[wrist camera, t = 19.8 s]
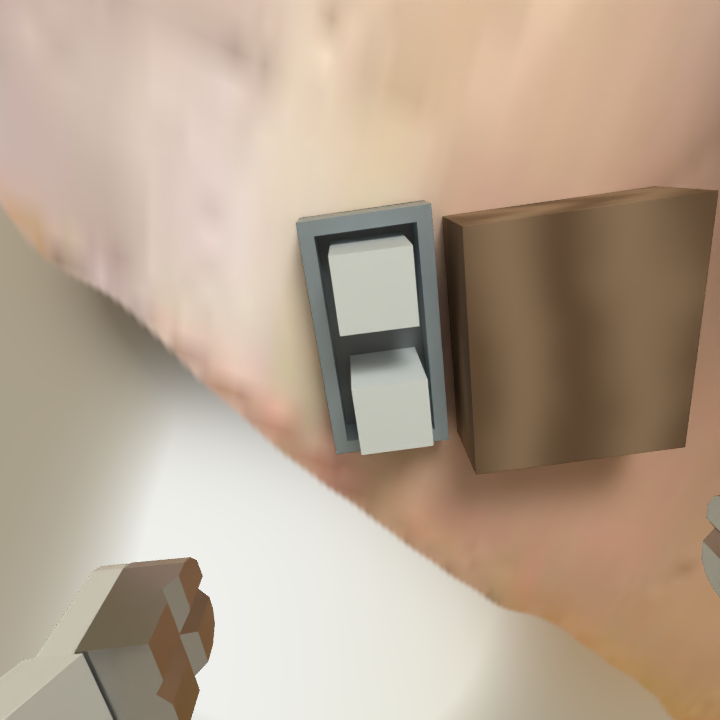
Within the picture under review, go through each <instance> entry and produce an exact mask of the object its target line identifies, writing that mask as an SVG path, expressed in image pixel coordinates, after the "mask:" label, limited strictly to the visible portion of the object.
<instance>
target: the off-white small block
mask: <svg viewBox="0 0 720 720" xmlns="http://www.w3.org/2000/svg"><path fill="white" fill-rule="evenodd" d="M350 364H351V390H352V396H353V403H354V409H355V416H356V422H357V429H358V435H359V442H360V448H361V455H366V454H374V453H381V452H389V451H397V450H404V449H412V448H419V447H427V446H434V445H433V434H432V423H431V411H430V400H429V389H428V379H427V377H426V374H425V372H424V369H423V367H422V364H421V362H420V359H419V357H418V354H417V352H416V349H415V347H410V348H403V349H395V350H388V351H381V352H373V353H366V354H359V355H351V356H350Z"/></svg>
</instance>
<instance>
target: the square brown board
mask: <svg viewBox="0 0 720 720" xmlns="http://www.w3.org/2000/svg"><path fill="white" fill-rule="evenodd" d="M717 198H718V191H717V190H702V189H687V188H672V187H656V186H655V187H648V188H640V189H633V190H626V191H619V192H612V193H605V194H598V195H591V196H584V197H577V198H569V199H562V200H555V201H548V202H541V203H534V204H527V205H520V206H513V207H506V208H498V209H491V210H484V211H477V212H470V213H463V214H456V215H449V216H443V228H444V243H445V258H446V272H447V287H448V302H449V316H450V331H451V346H452V360H453V375H454V390H455V404H456V419H457V431H458V434H459V436H460V438H461V441H462V443H463V445H464V448H465V450H466V452H467V455H468V457H469V459H470V462H471V464H472V466H473V469H474V471H475V473H476V474H484V473H492V472H499V471H507V470H514V469H522V468H530V467H537V466H545V465H553V464H560V463H568V462H576V461H583V460H591V459H599V458H606V457H614V456H621V455H629V454H637V453H644V452H652V451H660V450H667V449H675V448H683V447H685V444H686V436H687V429H688V421H689V413H690V406H691V398H692V390H693V383H694V375H695V367H696V360H697V352H698V344H699V337H700V329H701V321H702V314H703V306H704V298H705V290H706V283H707V275H708V267H709V260H710V252H711V244H712V237H713V229H714V221H715V214H716V206H717Z"/></svg>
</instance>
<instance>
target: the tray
mask: <svg viewBox="0 0 720 720" xmlns="http://www.w3.org/2000/svg"><path fill="white" fill-rule="evenodd" d="M296 227H297V232H298V238H299V244H300V250H301V255H302V261H303V267H304V272H305V278H306V284H307V289H308V295H309V301H310V306H311V312H312V318H313V323H314V329H315V335H316V340H317V346H318V352H319V358H320V363H321V369H322V375H323V380H324V386H325V392H326V397H327V403H328V409H329V414H330V420H331V426H332V431H333V437H334V443H335V448H336V454H342V453H350V452H358V451H361V448H360V442H359V435H358V429H357V422H356V416H355V409H354V403H353V396H352V390H351V364H350V356H351V355H359V354H366V353H373V352H381V351H388V350H395V349H403V348H410V347H415V349H416V352H417V354H418V357H419V359H420V362H421V364H422V367H423V369H424V372H425V374H426V377H427V379H428V389H429V400H430V411H431V423H432V434H433V441H441V440H448V439H449V433H448V420H447V407H446V393H445V380H444V367H443V354H442V341H441V328H440V314H439V301H438V288H437V275H436V262H435V249H434V235H433V222H432V209H431V203H428V202H426V201H424V200H423V201H416V202H409V203H402V204H395V205H388V206H381V207H374V208H367V209H360V210H353V211H346V212H339V213H332V214H324V215H317V216H310V217H303V218H299V220H298V221H297V222H296ZM396 232H402V234H403V235H404V236H405V237H406V238H407V239H408V240H409V241H410V243H411V244H412V245H413V254H414V266H415V278H416V290H417V302H418V314H419V325H420V326H416V327H409V328H401V329H393V330H385V331H378V332H370V333H362V334H354V335H347V336H340V333H339V327H338V320H337V313H336V306H335V299H334V293H333V286H332V279H331V272H330V266H329V259H328V254H329V248H330V242H331V241H336V240H343V239H351V238H358V237H366V236H374V235H381V234H389V233H396Z"/></svg>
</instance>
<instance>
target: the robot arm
mask: <svg viewBox="0 0 720 720" xmlns="http://www.w3.org/2000/svg"><path fill="white" fill-rule="evenodd" d="M706 518H707V519H708V520H709V522H710V523H711V524H712V525H713V527H714V529H713V530H712V531H711V533H710V534H709V535H708V536H707V537H706V538H705V539H704V540H703V546H702V558H701V559H702V562H703V566H704V569H705V573H706V576H707V578H708V580H709V582H710V583H711V585H712V587H713V589H714V590H715V592H716V593H717V594H718V595H719V597H720V495H718V496H714V497H713V499H712V500H711V501H710V503H709V504H708V510H707V516H706ZM201 579H202V573H201V570H200V568H199V565H198V562H197V560H195V559H193V558H191V557H189V558H178V559H167V560H156V561H145V562H134V563H130V564H120V565H108V566H101V567H99V568H98V569H96V570H94V571H93V572H92V573H91V574H90V576H89V577H88V579H87V580H86V582H85V583H84V585H83V586H82V588H81V589H80V591H79V592H78V594H77V595H76V597H75V598H74V600H73V601H72V603H71V604H70V606H69V608H68V609H67V610H66V612H65V613H64V615H63V616H62V618H61V620H60V621H59V622H58V624H57V625H56V627H55V628H54V630H53V632H52V633H51V634H50V636H49V638H48V639H47V641H46V642H45V644H44V645H43V647H42V648H41V650H40V652H39V653H38V654H37V656H36V657H35V659H27V660H23V661H22V662H20V663H19V664H18V665H17V666H15V667H14V668H13V669H11V670H10V671H9V672H7V673H6V674H5V675H3V676H2V677H1V678H0V720H191V717H192V713H193V710H194V707H195V704H196V700H197V697H198V694H199V687H198V684H197V681H196V678H195V675H196V674H197V673H198V672H199V671H200V670H201V669H202V668H203V666H205V664H206V663H207V662H208V660H209V657H210V653H211V649H212V646H213V637H214V626H215V622H214V613H213V607H212V604H211V601H210V598H209V597H208V596H207V595H206V594H204V593H203V592H202V591H201V590H199V589H198V587H199V584H200V582H201Z"/></svg>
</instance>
